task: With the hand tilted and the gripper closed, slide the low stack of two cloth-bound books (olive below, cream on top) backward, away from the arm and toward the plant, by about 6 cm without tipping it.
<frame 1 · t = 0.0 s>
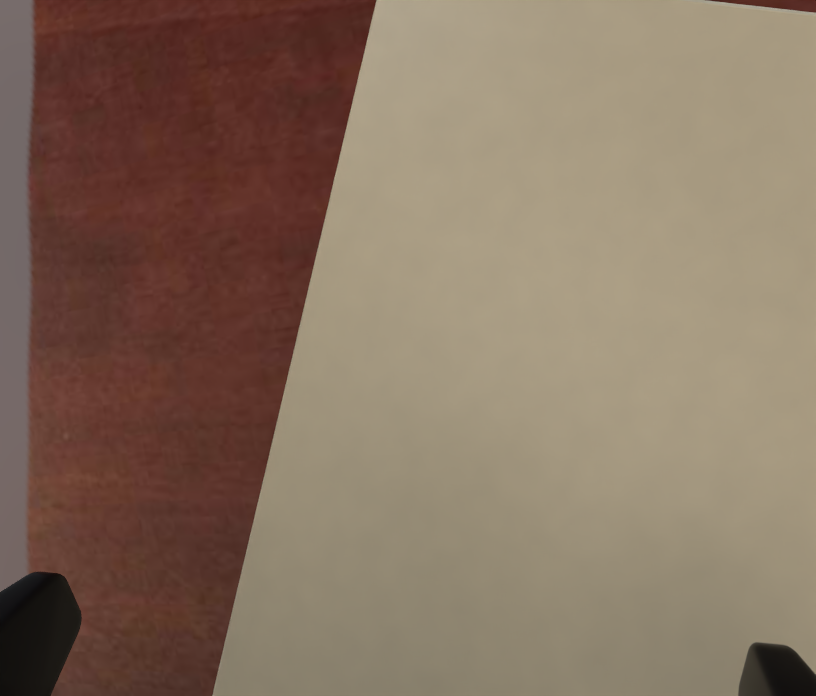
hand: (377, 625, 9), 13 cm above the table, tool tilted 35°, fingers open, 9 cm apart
book stack: (704, 431, 20), on the table
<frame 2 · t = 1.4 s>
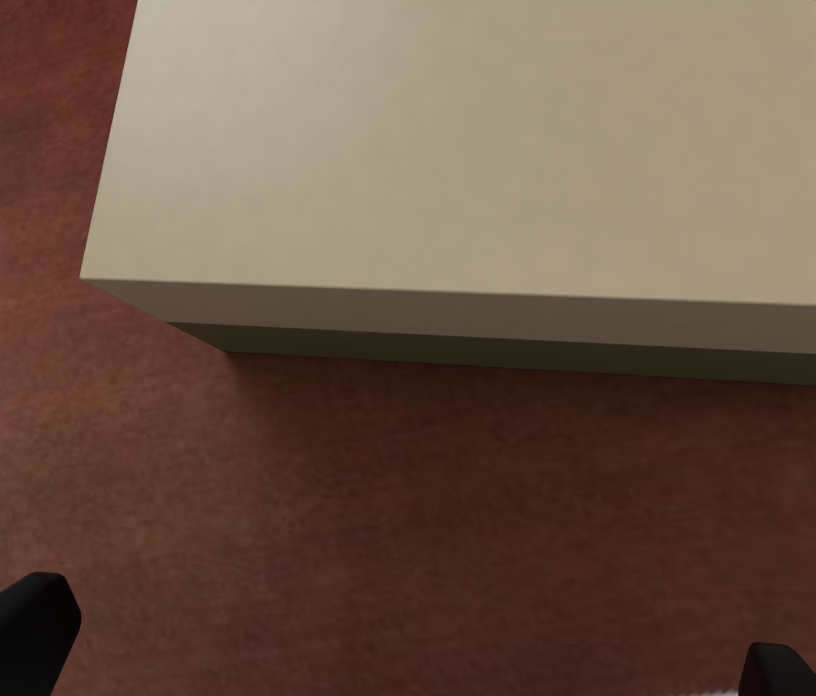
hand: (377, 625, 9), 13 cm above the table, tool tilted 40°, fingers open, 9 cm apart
book stack: (516, 148, 24), on the table
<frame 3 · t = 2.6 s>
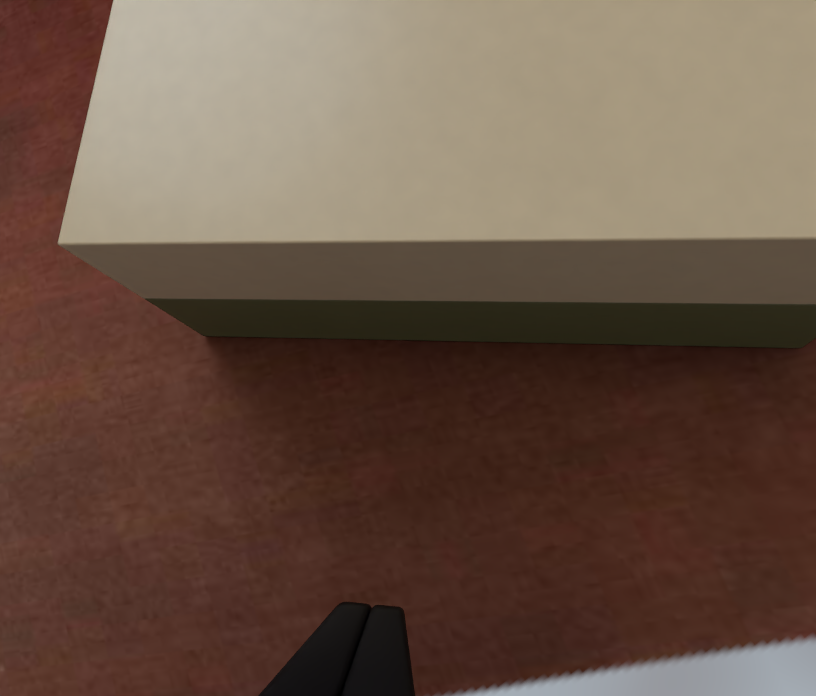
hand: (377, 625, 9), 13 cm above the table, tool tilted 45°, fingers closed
book stack: (487, 133, 25), on the table
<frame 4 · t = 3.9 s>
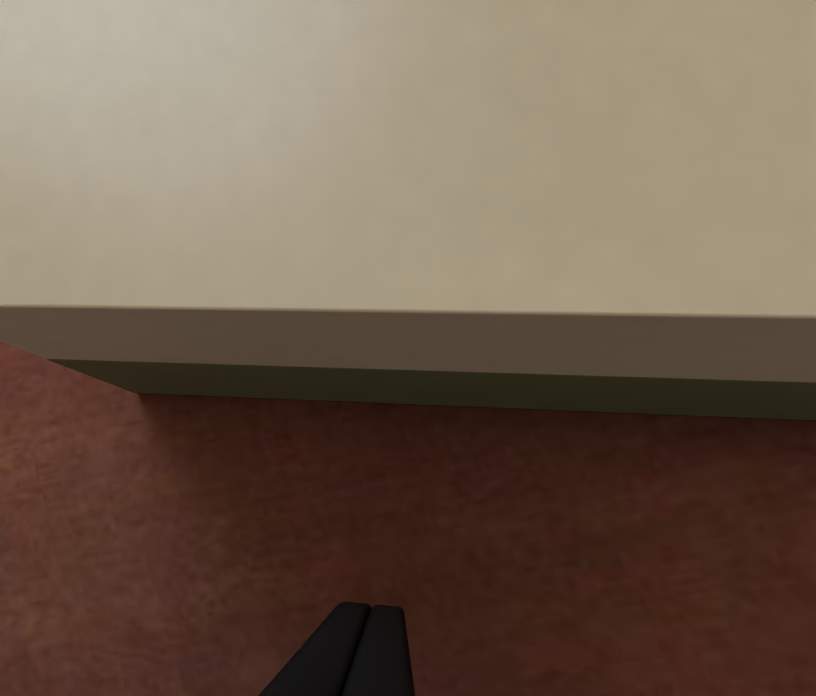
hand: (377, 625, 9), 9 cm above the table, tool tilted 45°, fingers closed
book stack: (477, 150, 21), on the table
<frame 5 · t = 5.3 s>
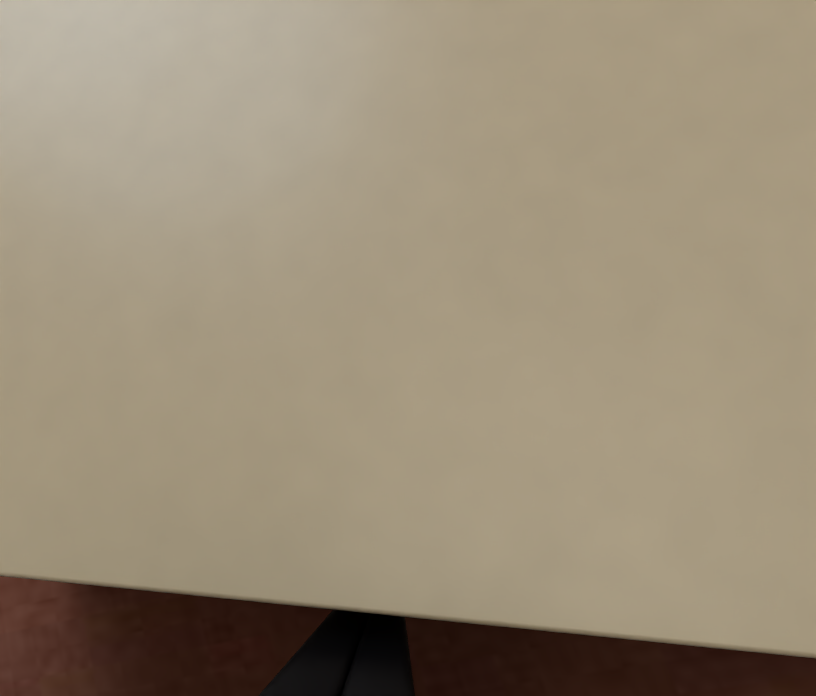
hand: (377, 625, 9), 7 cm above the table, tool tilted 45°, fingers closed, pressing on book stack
book stack: (462, 253, 17), on the table, touching gripper
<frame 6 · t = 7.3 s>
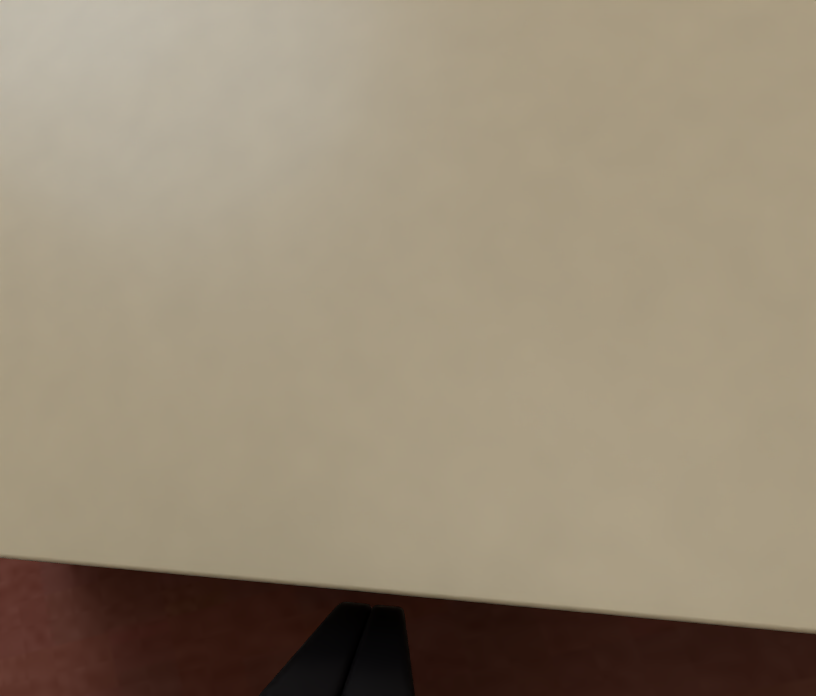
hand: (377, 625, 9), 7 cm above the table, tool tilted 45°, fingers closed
book stack: (462, 245, 17), on the table
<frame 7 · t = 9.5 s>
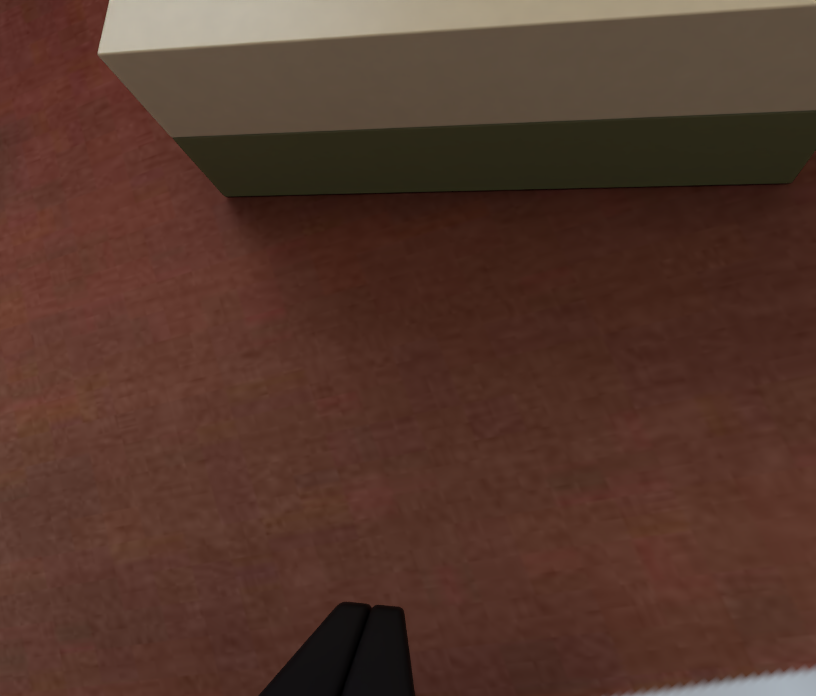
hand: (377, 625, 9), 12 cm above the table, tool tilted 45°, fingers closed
book stack: (494, 5, 26), on the table
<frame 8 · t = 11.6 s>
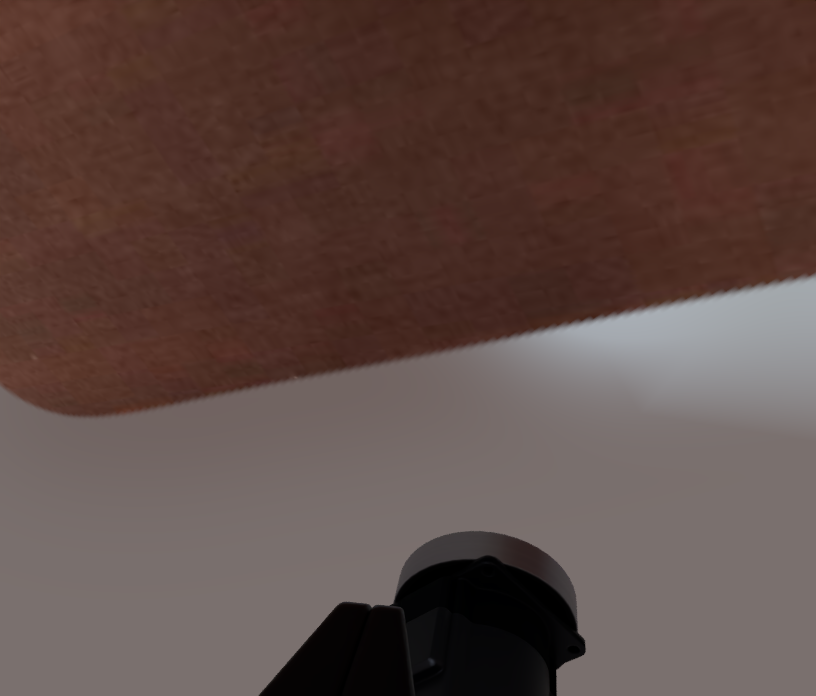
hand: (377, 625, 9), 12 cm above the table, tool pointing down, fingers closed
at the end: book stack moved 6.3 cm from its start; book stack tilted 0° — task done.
